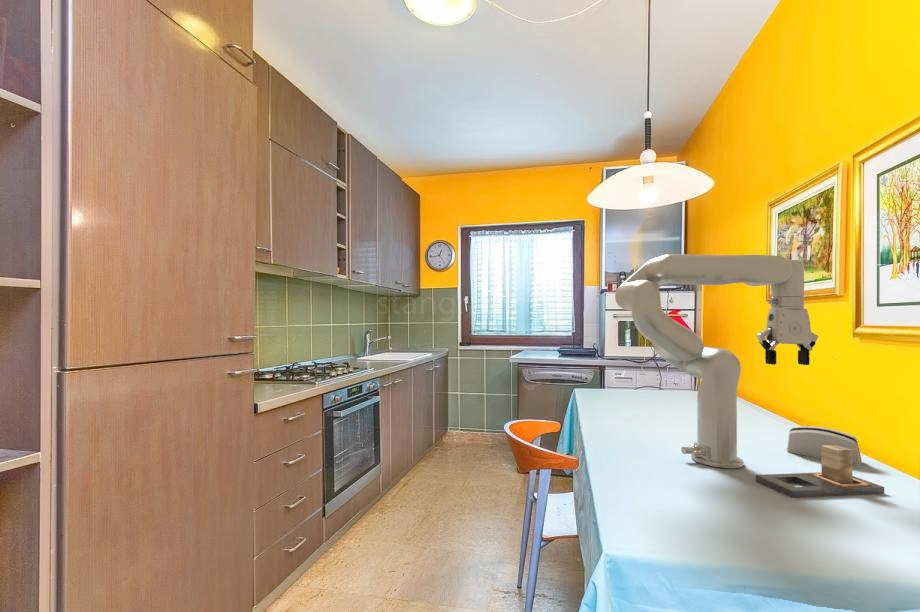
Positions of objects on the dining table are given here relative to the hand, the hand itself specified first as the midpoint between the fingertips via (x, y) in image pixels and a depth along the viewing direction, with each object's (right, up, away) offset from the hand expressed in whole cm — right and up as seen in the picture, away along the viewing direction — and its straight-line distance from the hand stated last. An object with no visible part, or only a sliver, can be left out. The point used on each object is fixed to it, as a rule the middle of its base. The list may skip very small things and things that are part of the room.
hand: (787, 364), depth 122 cm
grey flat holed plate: (-7, -27, -19) cm, 34 cm away
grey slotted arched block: (+13, -28, +4) cm, 31 cm away
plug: (-1, -27, -18) cm, 32 cm away
